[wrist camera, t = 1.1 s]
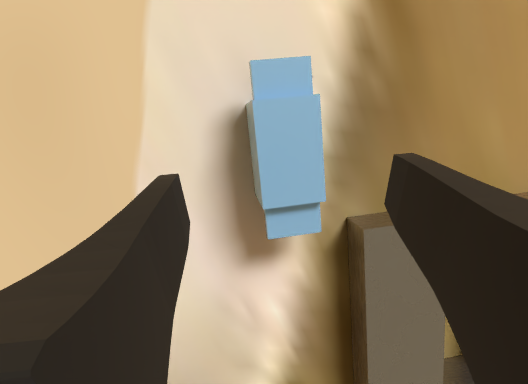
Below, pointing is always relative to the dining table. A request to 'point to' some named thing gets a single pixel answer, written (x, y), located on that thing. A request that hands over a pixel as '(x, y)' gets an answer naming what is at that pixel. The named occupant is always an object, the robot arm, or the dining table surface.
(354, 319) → the chassis
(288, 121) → the servo
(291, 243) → the dining table surface
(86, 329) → the robot arm
